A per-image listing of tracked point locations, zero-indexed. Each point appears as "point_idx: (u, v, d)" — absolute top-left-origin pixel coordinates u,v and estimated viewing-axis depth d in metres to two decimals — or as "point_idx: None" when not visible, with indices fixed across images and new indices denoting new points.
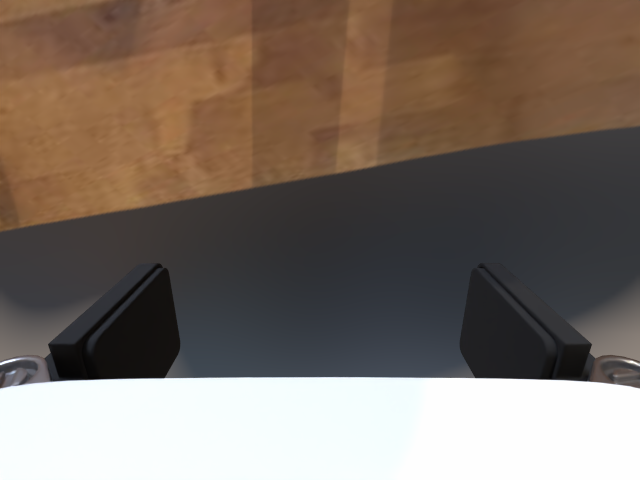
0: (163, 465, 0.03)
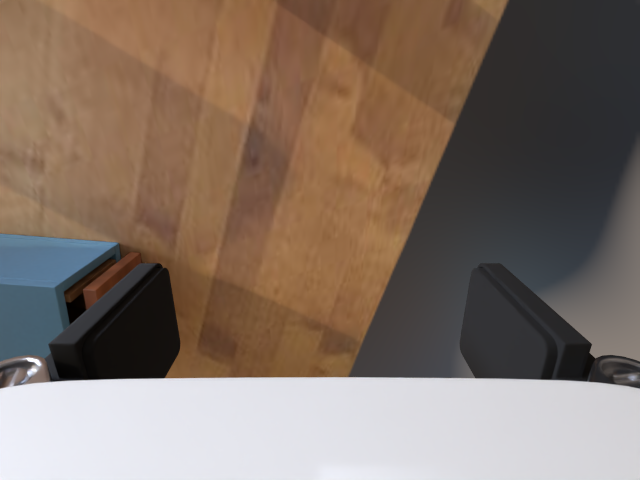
0: (163, 465, 0.03)
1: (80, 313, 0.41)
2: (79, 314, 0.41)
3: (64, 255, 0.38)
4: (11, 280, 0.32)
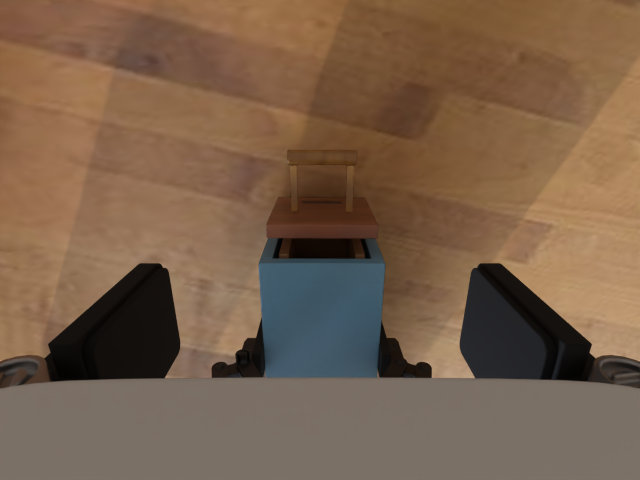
0: (162, 465, 0.03)
1: None
2: None
3: None
4: None
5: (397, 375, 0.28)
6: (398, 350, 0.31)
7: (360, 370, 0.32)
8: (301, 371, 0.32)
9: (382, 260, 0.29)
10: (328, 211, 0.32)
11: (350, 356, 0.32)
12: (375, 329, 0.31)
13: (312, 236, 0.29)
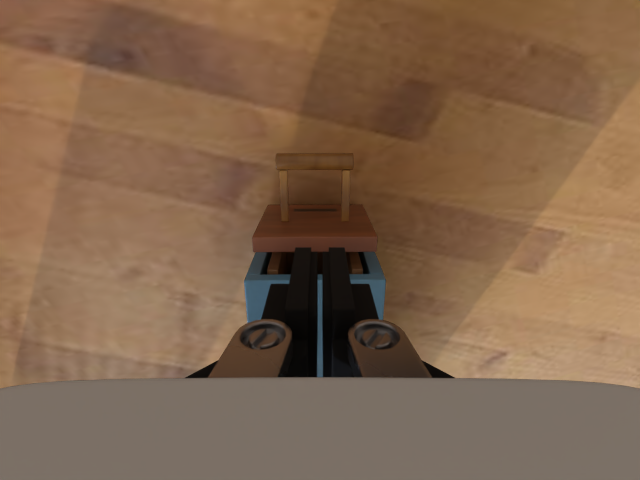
0: (162, 465, 0.03)
1: None
2: None
3: None
4: None
5: None
6: None
7: None
8: None
9: (382, 276, 0.26)
10: (322, 221, 0.29)
11: None
12: None
13: None
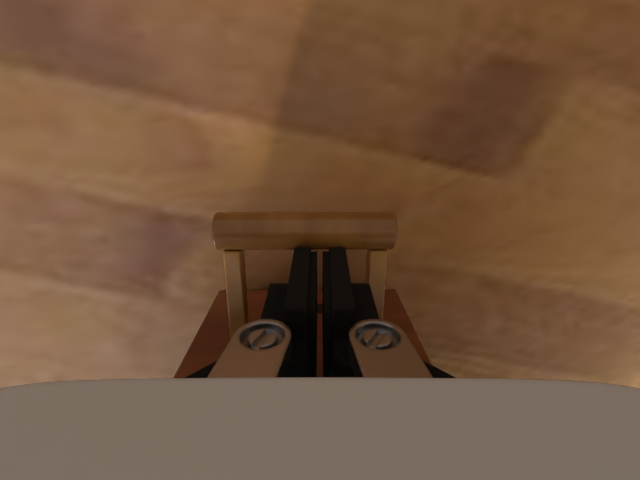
0: (162, 466, 0.03)
1: None
2: None
3: None
4: None
5: None
6: None
7: None
8: None
9: None
10: (322, 354, 0.13)
11: None
12: None
13: None
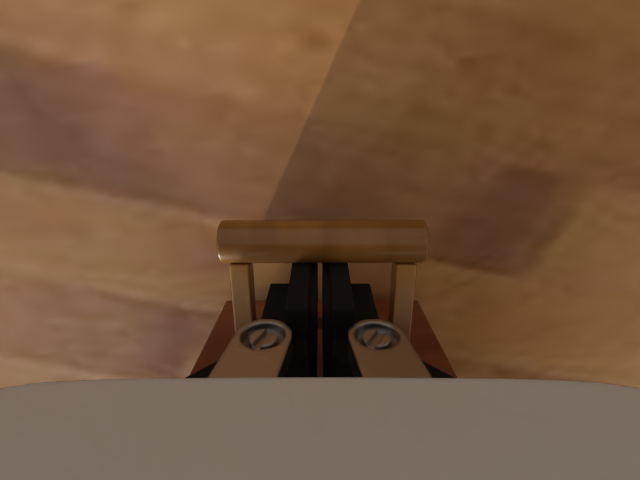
0: (163, 466, 0.03)
1: None
2: None
3: None
4: None
5: None
6: None
7: None
8: None
9: None
10: None
11: None
12: None
13: None
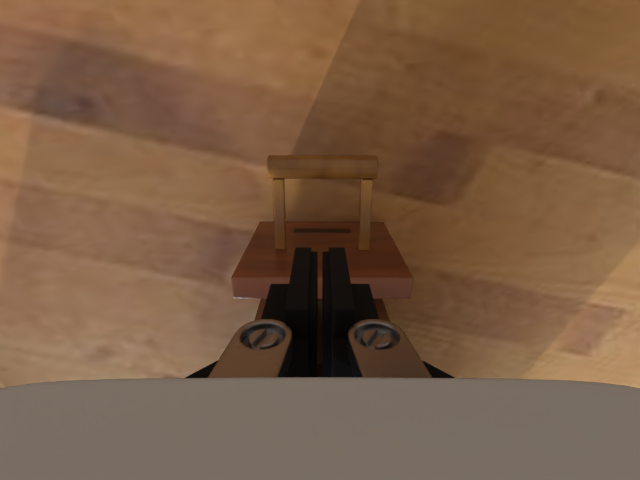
0: (163, 465, 0.03)
1: None
2: None
3: None
4: None
5: None
6: None
7: None
8: None
9: None
10: None
11: None
12: None
13: None
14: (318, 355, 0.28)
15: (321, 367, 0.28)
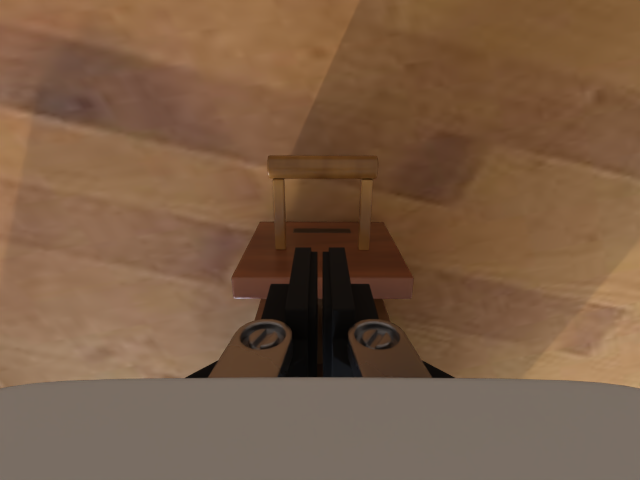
0: (163, 465, 0.03)
1: None
2: None
3: None
4: None
5: None
6: None
7: None
8: None
9: None
10: None
11: None
12: None
13: None
14: (318, 355, 0.28)
15: (321, 367, 0.28)
